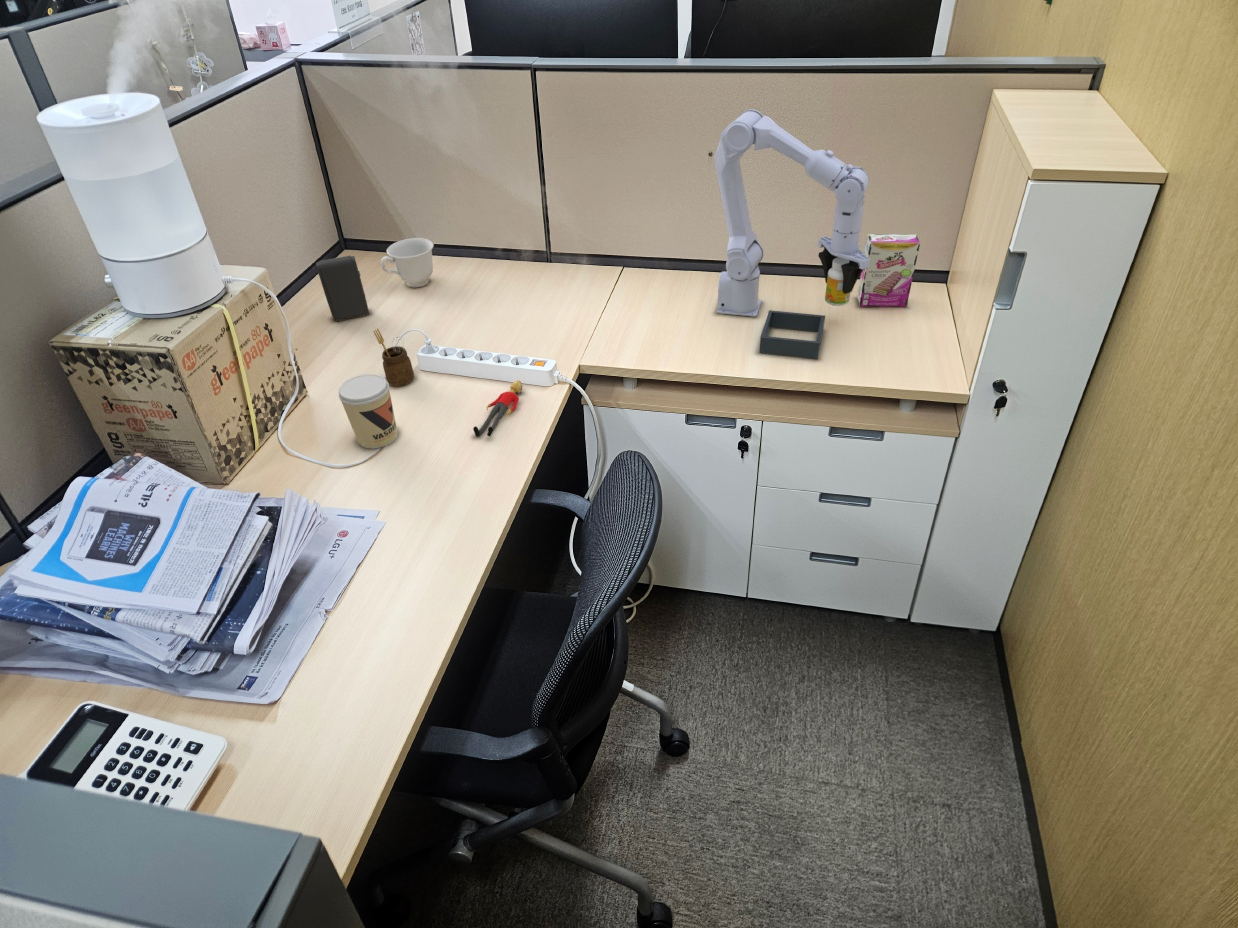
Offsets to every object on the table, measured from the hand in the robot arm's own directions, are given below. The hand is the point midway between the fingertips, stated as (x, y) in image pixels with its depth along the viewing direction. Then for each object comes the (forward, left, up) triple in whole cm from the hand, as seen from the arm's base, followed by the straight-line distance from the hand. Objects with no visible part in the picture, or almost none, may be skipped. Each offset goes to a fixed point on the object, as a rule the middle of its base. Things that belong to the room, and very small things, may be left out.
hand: (838, 287), depth 177 cm
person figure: (-62, -50, -9) cm, 80 cm away
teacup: (-109, -1, -9) cm, 109 cm away
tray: (-8, -10, -9) cm, 16 cm away
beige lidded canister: (-83, -64, -9) cm, 105 cm away
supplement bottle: (0, 0, -4) cm, 4 cm away
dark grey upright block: (-116, -20, -9) cm, 118 cm away
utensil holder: (-89, -44, -9) cm, 99 cm away
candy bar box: (+10, +12, -9) cm, 18 cm away
